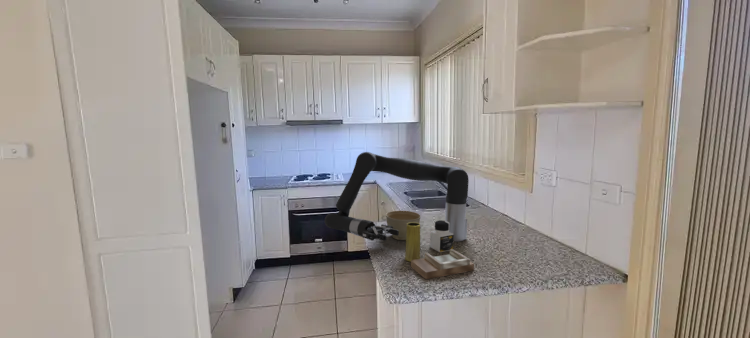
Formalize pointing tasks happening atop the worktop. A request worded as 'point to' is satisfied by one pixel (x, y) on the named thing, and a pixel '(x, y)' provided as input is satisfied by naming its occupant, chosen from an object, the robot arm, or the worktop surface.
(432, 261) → the dock
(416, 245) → the vase
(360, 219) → the robot arm
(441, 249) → the medicine bottle
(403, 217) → the planter bowl
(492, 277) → the worktop surface
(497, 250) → the worktop surface
